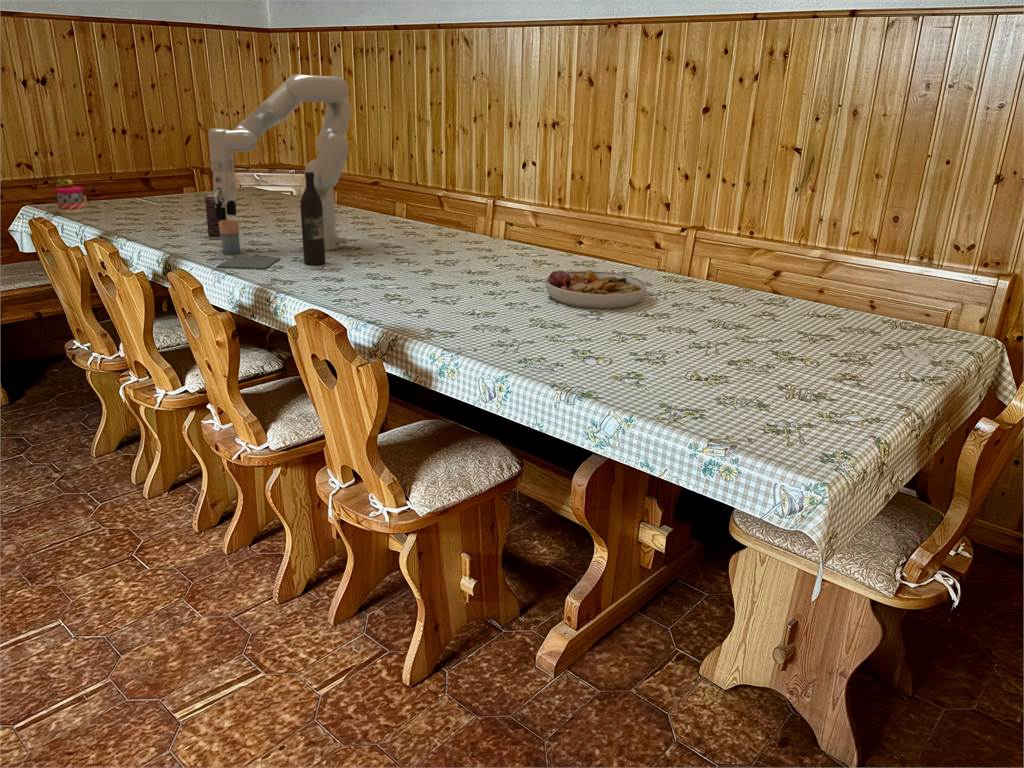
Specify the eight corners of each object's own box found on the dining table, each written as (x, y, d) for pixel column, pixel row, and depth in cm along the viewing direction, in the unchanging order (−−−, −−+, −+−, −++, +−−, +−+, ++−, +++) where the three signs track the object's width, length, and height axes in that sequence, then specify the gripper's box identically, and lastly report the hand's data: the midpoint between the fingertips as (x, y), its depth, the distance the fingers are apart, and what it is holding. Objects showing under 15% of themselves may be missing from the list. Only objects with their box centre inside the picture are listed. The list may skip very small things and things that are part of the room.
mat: (280, 259, 271) (280, 257, 271) (265, 269, 256) (265, 267, 256) (234, 257, 272) (234, 256, 271) (216, 267, 257) (216, 266, 256)
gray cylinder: (243, 251, 282) (241, 231, 279) (236, 254, 276) (235, 234, 274) (226, 250, 282) (224, 231, 279) (220, 254, 276) (217, 234, 274)
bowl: (635, 287, 250) (637, 262, 247) (654, 313, 222) (657, 286, 219) (541, 285, 249) (542, 260, 246) (548, 311, 221) (550, 283, 218)
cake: (61, 211, 349) (55, 177, 343) (88, 211, 352) (82, 176, 346) (56, 215, 339) (50, 179, 334) (83, 215, 342) (78, 179, 337)
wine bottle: (304, 265, 263) (298, 173, 252) (303, 261, 269) (297, 171, 259) (326, 265, 265) (321, 173, 254) (325, 260, 271) (319, 171, 261)
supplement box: (220, 239, 301) (216, 197, 295) (208, 239, 301) (203, 196, 295) (229, 235, 309) (224, 194, 303) (216, 235, 309) (212, 193, 303)
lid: (242, 231, 280) (241, 220, 278) (235, 234, 273) (234, 223, 272) (223, 230, 280) (222, 219, 278) (216, 234, 274) (215, 222, 272)
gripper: (224, 169, 260) (228, 221, 266) (242, 164, 276) (245, 214, 282) (201, 168, 260) (206, 220, 266) (221, 163, 277) (225, 212, 283)
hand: (226, 217), depth 274 cm, fingers open, 9 cm apart
